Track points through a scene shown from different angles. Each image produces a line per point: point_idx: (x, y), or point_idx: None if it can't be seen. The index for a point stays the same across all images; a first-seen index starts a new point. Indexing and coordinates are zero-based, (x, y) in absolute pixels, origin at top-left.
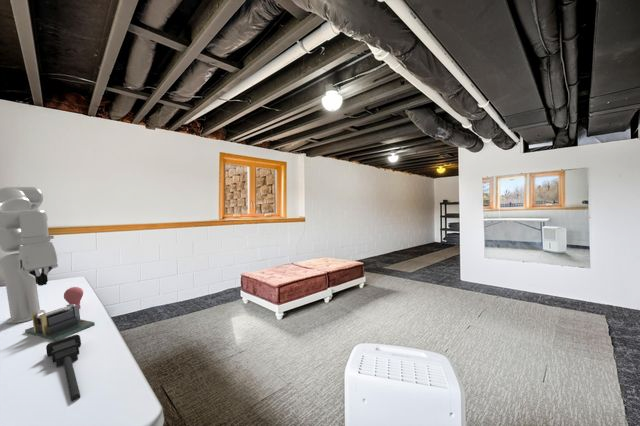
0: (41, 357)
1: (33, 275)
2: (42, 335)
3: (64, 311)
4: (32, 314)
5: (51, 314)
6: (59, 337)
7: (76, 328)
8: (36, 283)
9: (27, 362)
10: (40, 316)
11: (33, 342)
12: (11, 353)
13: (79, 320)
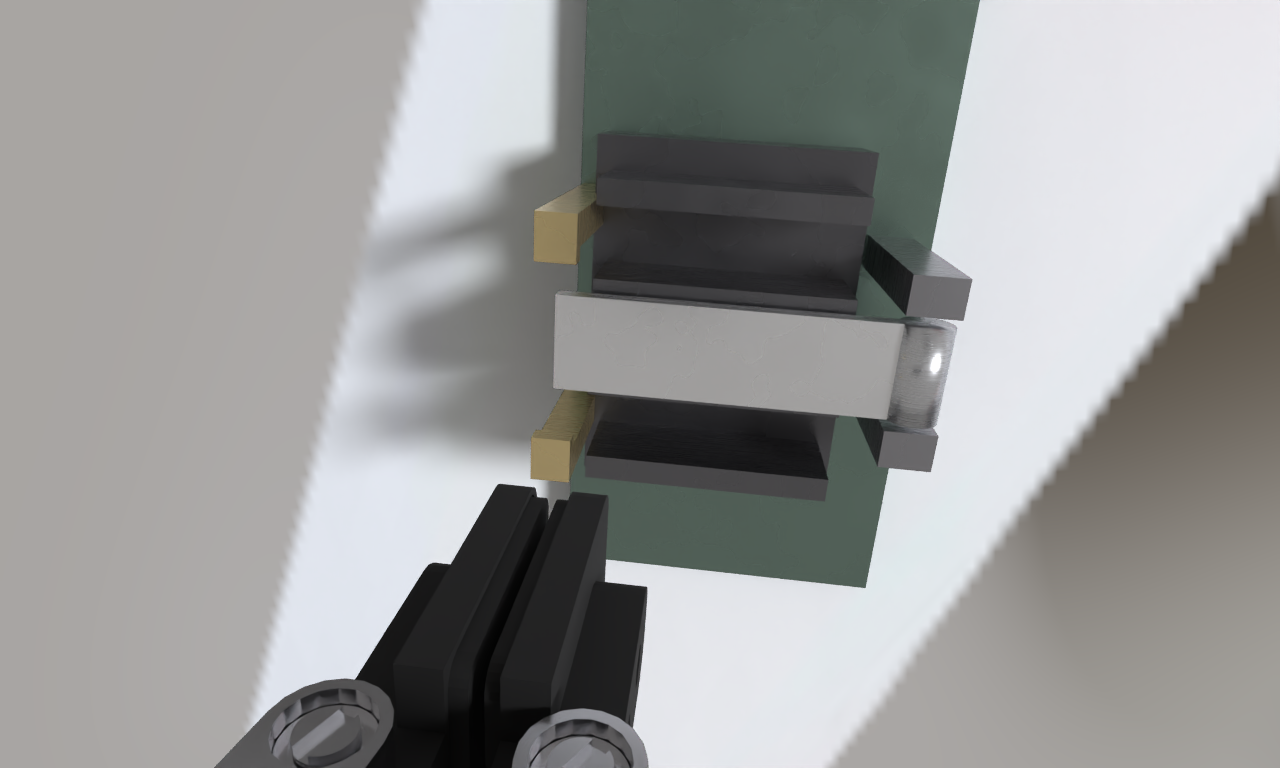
0: None
1: (280, 708)
2: None
3: (785, 412)
4: (537, 230)
5: (661, 392)
6: None
7: (732, 555)
8: (435, 573)
9: None
10: (534, 436)
11: (504, 371)
12: (358, 412)
13: None
